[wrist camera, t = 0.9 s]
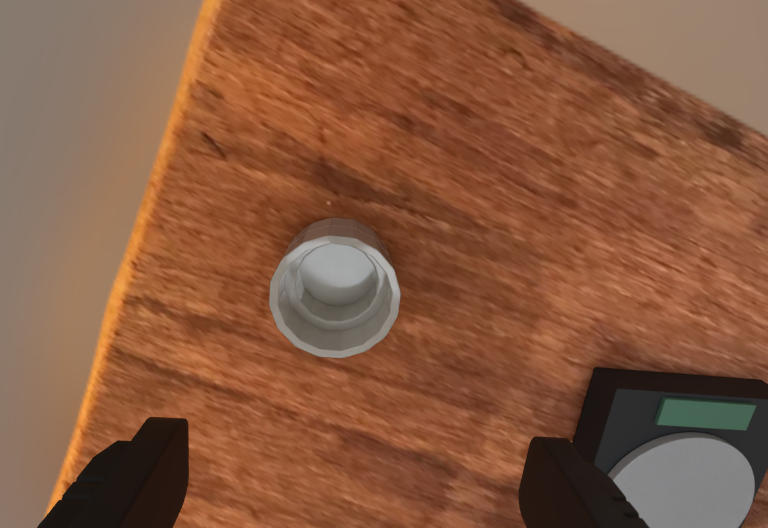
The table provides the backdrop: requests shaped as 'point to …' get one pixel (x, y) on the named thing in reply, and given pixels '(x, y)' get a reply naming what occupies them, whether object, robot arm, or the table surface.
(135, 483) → the robot arm
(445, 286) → the table surface
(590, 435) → the scale
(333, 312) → the white cup
